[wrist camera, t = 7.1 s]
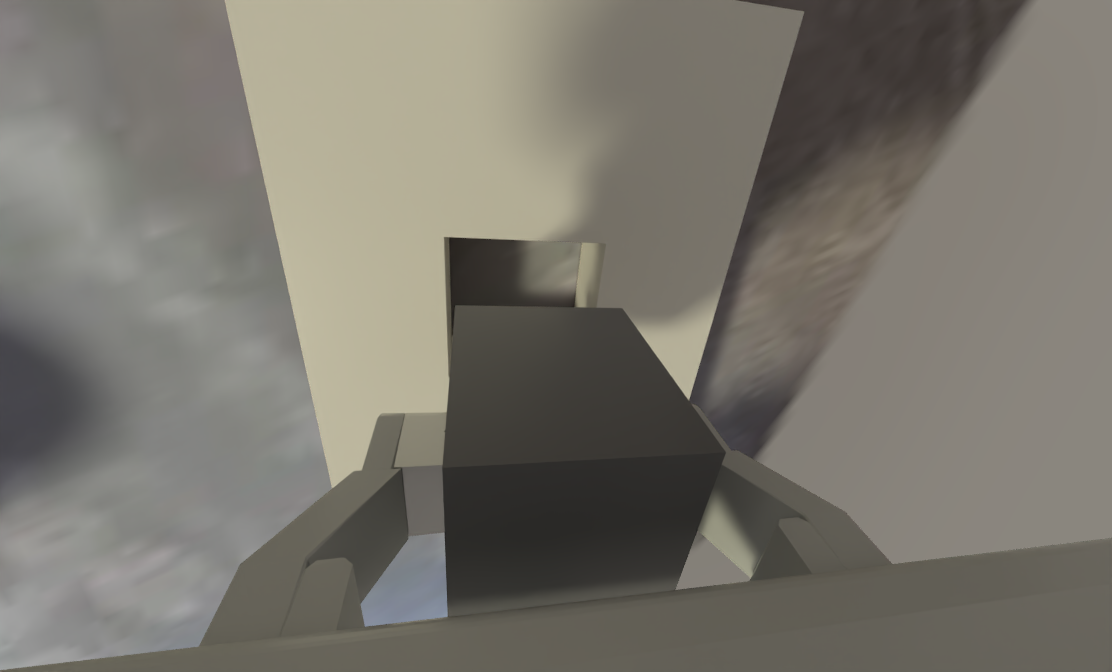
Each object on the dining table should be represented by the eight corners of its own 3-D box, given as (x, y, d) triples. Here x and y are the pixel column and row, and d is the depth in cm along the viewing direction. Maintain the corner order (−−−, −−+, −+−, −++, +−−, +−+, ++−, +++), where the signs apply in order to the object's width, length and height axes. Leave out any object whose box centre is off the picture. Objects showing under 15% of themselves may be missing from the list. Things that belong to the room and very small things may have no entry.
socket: (265, -47, 11) (189, -98, 8) (743, 26, 14) (820, 8, 11) (355, 459, 20) (333, 526, 17) (640, 444, 23) (667, 499, 20)
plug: (457, 271, 12) (442, 467, 5) (599, 276, 12) (725, 452, 6) (459, 417, 14) (449, 670, 8) (578, 413, 15) (656, 641, 9)
